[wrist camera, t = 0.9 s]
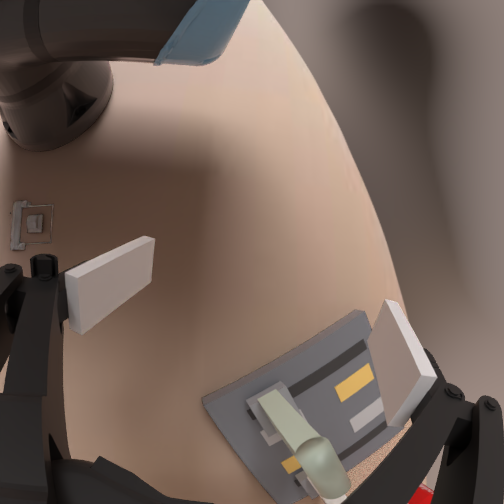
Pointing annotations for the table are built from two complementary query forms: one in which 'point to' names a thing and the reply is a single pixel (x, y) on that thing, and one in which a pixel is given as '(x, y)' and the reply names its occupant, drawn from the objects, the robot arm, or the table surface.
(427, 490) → the soda can
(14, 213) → the grey plastic bracket
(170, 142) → the table surface
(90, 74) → the robot arm
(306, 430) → the sage lever
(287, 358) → the switch base
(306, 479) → the white lever
